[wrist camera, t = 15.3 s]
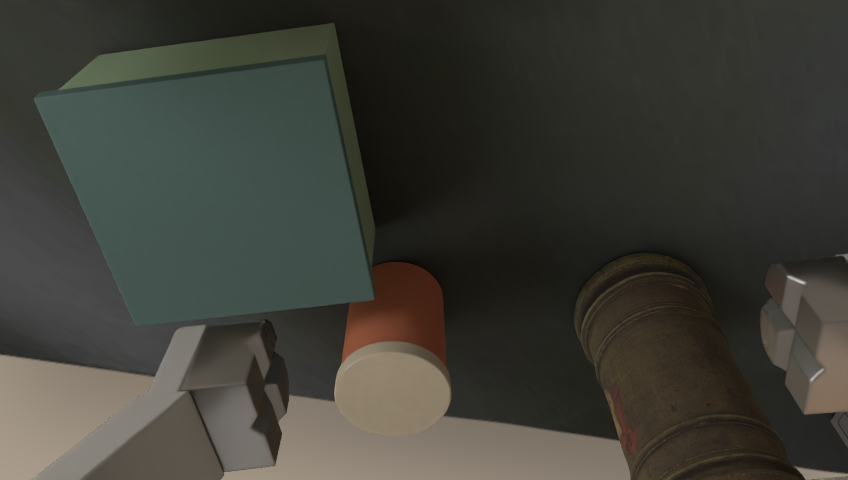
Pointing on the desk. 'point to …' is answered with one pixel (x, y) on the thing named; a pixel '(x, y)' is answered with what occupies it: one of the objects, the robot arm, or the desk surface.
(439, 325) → the canister
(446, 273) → the desk surface
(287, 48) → the lidded square case
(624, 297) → the container
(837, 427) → the cassette player
